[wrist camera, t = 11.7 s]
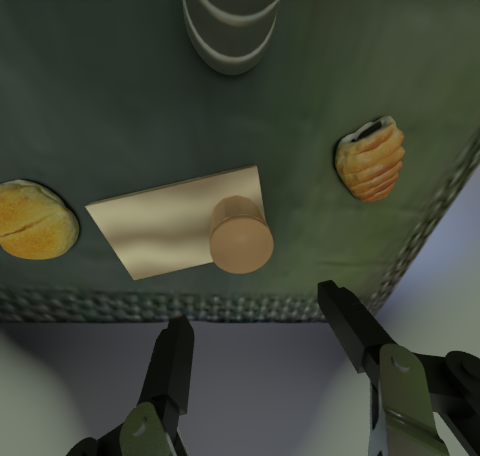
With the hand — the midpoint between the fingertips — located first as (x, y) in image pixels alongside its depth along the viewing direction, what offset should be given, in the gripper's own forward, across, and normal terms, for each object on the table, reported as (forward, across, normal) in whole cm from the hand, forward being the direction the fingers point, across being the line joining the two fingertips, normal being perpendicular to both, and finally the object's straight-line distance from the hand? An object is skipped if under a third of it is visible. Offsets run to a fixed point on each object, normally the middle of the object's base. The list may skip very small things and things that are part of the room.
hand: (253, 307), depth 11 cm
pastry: (+15, -17, -3) cm, 23 cm away
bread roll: (+15, +22, -5) cm, 27 cm away
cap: (+13, 0, 0) cm, 13 cm away
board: (+14, +6, 0) cm, 15 cm away
